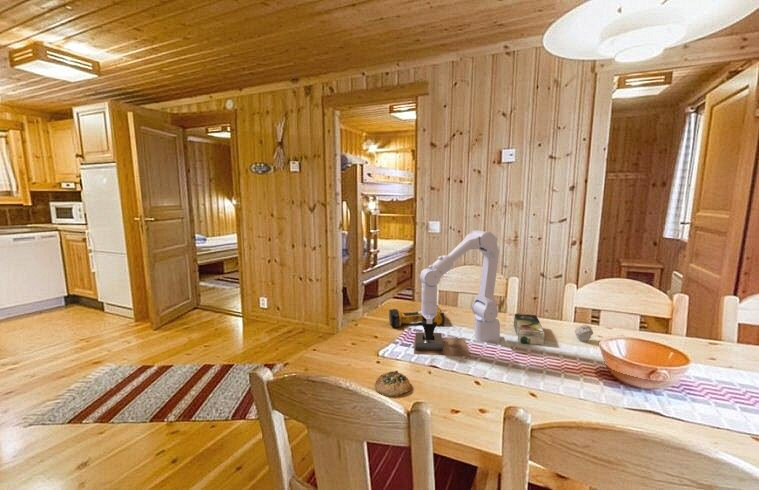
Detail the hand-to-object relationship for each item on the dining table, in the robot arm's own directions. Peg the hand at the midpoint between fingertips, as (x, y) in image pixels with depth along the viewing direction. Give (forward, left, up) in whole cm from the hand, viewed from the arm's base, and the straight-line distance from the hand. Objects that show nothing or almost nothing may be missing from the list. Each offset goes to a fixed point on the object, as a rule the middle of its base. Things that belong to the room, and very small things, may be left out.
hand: (428, 335), depth 134 cm
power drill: (+6, -32, -5) cm, 33 cm away
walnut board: (-4, 0, -5) cm, 7 cm away
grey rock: (-61, -12, -5) cm, 62 cm away
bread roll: (+12, +29, -5) cm, 32 cm away
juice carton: (-41, -17, -5) cm, 45 cm away
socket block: (0, 0, -5) cm, 5 cm away
